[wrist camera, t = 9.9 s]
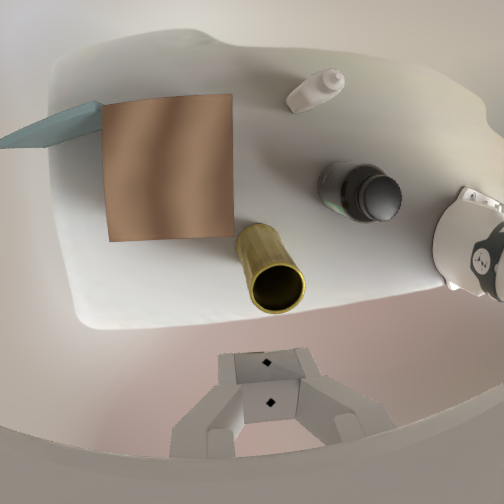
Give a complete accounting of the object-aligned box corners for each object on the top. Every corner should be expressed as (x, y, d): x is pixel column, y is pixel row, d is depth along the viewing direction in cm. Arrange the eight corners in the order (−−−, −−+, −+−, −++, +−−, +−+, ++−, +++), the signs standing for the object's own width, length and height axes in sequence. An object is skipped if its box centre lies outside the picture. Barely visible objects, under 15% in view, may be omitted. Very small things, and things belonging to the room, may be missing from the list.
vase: (226, 244, 41) (230, 288, 27) (261, 213, 40) (283, 243, 26) (255, 275, 42) (273, 330, 29) (289, 247, 42) (322, 290, 28)
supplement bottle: (322, 216, 41) (360, 239, 29) (311, 167, 39) (347, 172, 27) (365, 204, 41) (413, 222, 30) (356, 157, 39) (404, 160, 27)
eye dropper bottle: (282, 83, 35) (307, 55, 23) (323, 82, 35) (361, 58, 24) (286, 114, 36) (314, 97, 25) (327, 112, 37) (367, 98, 25)
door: (128, 122, 34) (95, 110, 23) (46, 147, 33) (-2, 148, 22) (126, 107, 33) (93, 90, 22) (44, 133, 32) (-3, 131, 22)
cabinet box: (228, 113, 35) (232, 94, 24) (229, 213, 39) (234, 236, 28) (135, 119, 34) (102, 105, 23) (139, 217, 38) (109, 242, 27)
